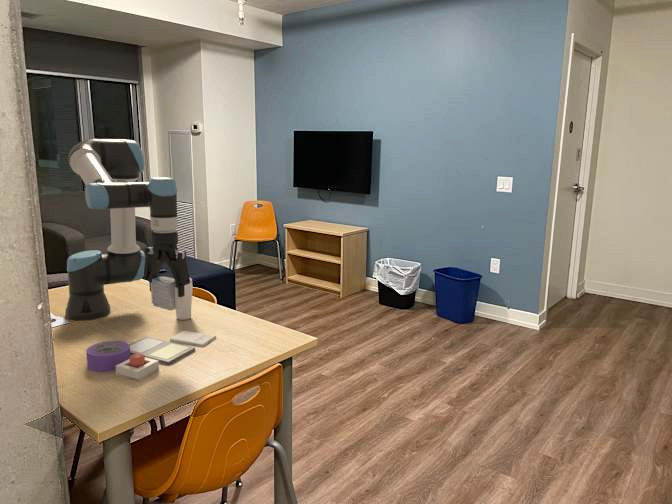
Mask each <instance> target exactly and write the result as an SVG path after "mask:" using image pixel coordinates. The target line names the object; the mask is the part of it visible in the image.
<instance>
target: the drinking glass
mask: <svg viewBox="0 0 672 504" xmlns="http://www.w3.org/2000/svg"><path fill="white" fill-rule="evenodd" d="M189 278H190V284H187V285H185V286H184V290H185V295H184V296H183V306H182V307H181V308H177V309H175V317H176V319H177V320H179V321H187V320H189V319H191V317H192V303H193V302H192V300H193V279H192V278H191V277H189Z"/></svg>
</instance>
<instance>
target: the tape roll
mask: <svg viewBox="0 0 672 504" xmlns="http://www.w3.org/2000/svg"><path fill="white" fill-rule="evenodd" d="M129 344H130V343H129V342H126V341H122V340H107V341H102V342H98V343H94V344H91V345H90V346H88V347H87V348H86V365H87V369H88V370H90V371H92V372H99V373H106V372H107V373H108V372H114V371H116V365H118V364H120V363H122V362H124V361H126V360H128V359H129V357H130V356H131V355H130V345H129Z"/></svg>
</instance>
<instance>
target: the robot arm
mask: <svg viewBox="0 0 672 504" xmlns="http://www.w3.org/2000/svg"><path fill="white" fill-rule="evenodd" d="M68 164H69V166H70V168H71V170H72V171H73V172H74V173H75V174H77V175H79V176H80V179H81V180H82V181H83V183H84V184H85V188H84V197H85V202H86V205H87V207H88V208H89V209H90V210H102V211H103V210H110V211H109V212H110V216H109V217H110V237H111V241H110V243H111V244H110V245H108V247H107V253H102V251H101V250H97V249H94V250H83V251H80V252H77V253H74V254H71V255H70V256H68V258H67V260H66V271H67V280H68V281H67V282H68V295H69V296H68V299H67V300H68V301H67V303H66V308H65V317H66V319H69V320H72V321H73V320H75V321H88V320H95V319H99V318H102V317H105V316H107V315H109V314H110V313H111V305H110V303H109V301H108V298H107V295H106V293H105V287H104V286H105V285H112V284H114V285H115V284H121V283H132V282H136V281H140V280H141V279H142V278H143V279H144V280H146V281H148V282H149V292H150V294H151V295H150V296H151V304H153V290H152V279H154V278H157V277H159V274H160V272H161V269H162V266H163V263H166V264H167V266H168V267H169V270H170V272H171V274H172V277H173V278H174V280H175V282H176V285H177V286H175V308H179V307H182V306H183V296H184V295H185V290H184V286H185V285H187V284H190V278H191V277H190V275H189V269H188V263H187V252H186V251H181V250H179V248H178V244H179V232H178V231H177V230H178V229H179V226H178V223H179V220H178V201H177V200H178V196H177V194H178V189H177V181H176V180H175V178H173V177H167V176H166V177H165V176H164V177H151V178H149V180H146V181H142V182H141V181H137V180H138V179H139V178H140V173H143V172H144V170H145V159H144V154H143V150H142V149H141V146H140V145H139V143H138V142H137V141H135V140H132V139H124V138H122V139H121V138H117V139H116V138H89V139H85V140H84V139H83V140H82V141H79V142H78V143H76V145H74V146H73V147H72V148H71V149H70V151H69V154H68ZM136 208H149V212H150V213H149V214H150V215H149V217H150V229H151V233H150V242H151V244H152V245H153V246H149V247H146V248H144V251H143V250H141V247H140V245H138V243H137V237H136V236H137V235H136V229H137V227H136Z"/></svg>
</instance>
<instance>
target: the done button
mask: <svg viewBox="0 0 672 504" xmlns="http://www.w3.org/2000/svg"><path fill="white" fill-rule="evenodd" d="M129 359H130V366H131V367H135V368H139V367H141V366H143V365H145V355H144V354H133V355H130V357H129Z"/></svg>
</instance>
